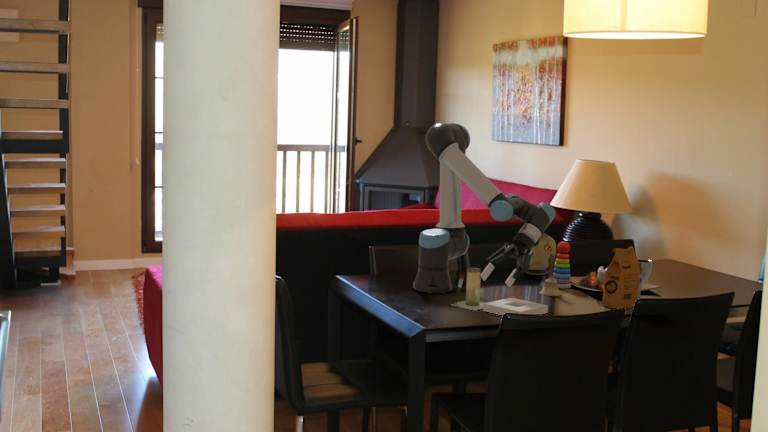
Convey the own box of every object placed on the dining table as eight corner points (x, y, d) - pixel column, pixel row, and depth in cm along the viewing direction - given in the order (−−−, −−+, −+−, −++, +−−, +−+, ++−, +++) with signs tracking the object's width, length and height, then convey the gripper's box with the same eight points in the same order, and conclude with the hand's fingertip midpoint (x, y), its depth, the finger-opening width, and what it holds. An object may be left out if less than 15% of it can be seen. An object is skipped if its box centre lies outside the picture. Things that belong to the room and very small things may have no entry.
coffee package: (597, 305, 323) (601, 246, 321) (620, 302, 330) (624, 244, 328) (618, 310, 315) (622, 250, 313) (641, 307, 322) (645, 248, 320)
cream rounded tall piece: (515, 268, 396) (519, 202, 392) (553, 270, 393) (557, 204, 390) (516, 275, 378) (519, 206, 375) (555, 277, 376) (559, 208, 372)
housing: (483, 311, 307) (483, 303, 306) (510, 305, 318) (510, 297, 318) (520, 320, 296) (520, 311, 295) (547, 313, 307) (547, 305, 307)
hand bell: (548, 296, 336) (550, 255, 334) (535, 292, 343) (537, 252, 341) (565, 295, 340) (567, 254, 338) (552, 291, 347) (554, 251, 345)
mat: (448, 305, 315) (448, 304, 315) (469, 301, 324) (470, 299, 323) (474, 311, 307) (475, 310, 307) (495, 307, 315) (496, 305, 315)
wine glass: (646, 302, 331) (649, 263, 330) (625, 299, 336) (628, 260, 334) (652, 298, 338) (654, 260, 336) (631, 295, 342) (634, 258, 341)
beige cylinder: (462, 304, 315) (464, 268, 314) (471, 302, 319) (472, 267, 317) (473, 306, 312) (475, 270, 310) (482, 304, 315) (483, 269, 314)
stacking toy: (570, 289, 351) (573, 243, 349) (550, 288, 352) (553, 242, 350) (570, 286, 359) (573, 240, 356) (551, 284, 360) (553, 239, 358)
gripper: (555, 249, 318) (523, 294, 312) (508, 240, 339) (477, 281, 332) (545, 236, 315) (513, 280, 308) (498, 227, 335) (467, 269, 328)
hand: (494, 281), depth 320 cm, fingers open, 13 cm apart
